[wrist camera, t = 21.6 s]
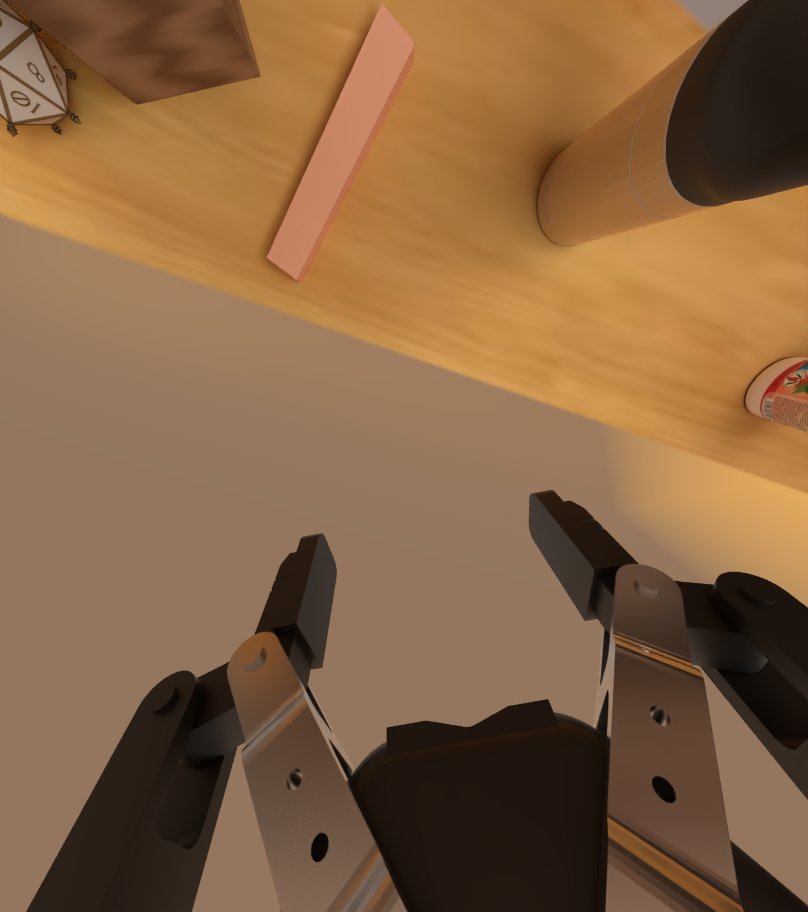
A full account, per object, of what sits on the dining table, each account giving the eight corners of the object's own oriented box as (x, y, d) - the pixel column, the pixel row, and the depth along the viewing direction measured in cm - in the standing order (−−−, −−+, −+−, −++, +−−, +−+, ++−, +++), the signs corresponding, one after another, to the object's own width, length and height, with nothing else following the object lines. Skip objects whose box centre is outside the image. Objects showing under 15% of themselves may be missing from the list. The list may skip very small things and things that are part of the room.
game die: (71, 84, 29) (-68, -124, 20) (135, 144, 30) (28, -32, 20) (-19, 125, 27) (-224, -85, 18) (50, 190, 27) (-115, 17, 18)
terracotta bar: (412, 67, 28) (415, 43, 26) (302, 281, 36) (296, 280, 33) (381, 31, 27) (381, 2, 24) (275, 261, 35) (266, 257, 32)
